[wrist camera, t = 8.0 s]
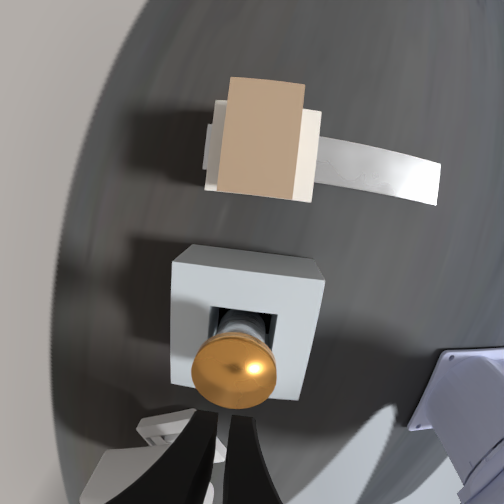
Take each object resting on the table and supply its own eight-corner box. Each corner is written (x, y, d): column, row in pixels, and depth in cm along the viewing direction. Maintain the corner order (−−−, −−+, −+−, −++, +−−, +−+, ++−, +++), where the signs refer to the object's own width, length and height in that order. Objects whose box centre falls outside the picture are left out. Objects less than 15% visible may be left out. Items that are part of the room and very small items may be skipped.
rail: (428, 164, 16) (440, 164, 14) (424, 203, 16) (435, 205, 15) (212, 128, 16) (207, 123, 15) (208, 170, 17) (202, 169, 15)
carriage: (313, 121, 16) (341, 86, 9) (304, 199, 16) (328, 210, 10) (223, 111, 16) (196, 70, 9) (213, 188, 17) (180, 193, 10)
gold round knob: (279, 302, 15) (283, 347, 11) (270, 359, 16) (270, 413, 12) (212, 294, 15) (192, 335, 11) (208, 351, 16) (190, 402, 12)
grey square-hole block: (313, 258, 18) (325, 280, 14) (293, 362, 19) (298, 400, 15) (192, 243, 18) (172, 261, 14) (187, 348, 19) (171, 383, 15)
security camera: (123, 417, 21) (75, 503, 12) (192, 403, 20) (156, 512, 11) (163, 462, 23) (134, 545, 13) (230, 453, 22) (215, 551, 12)
